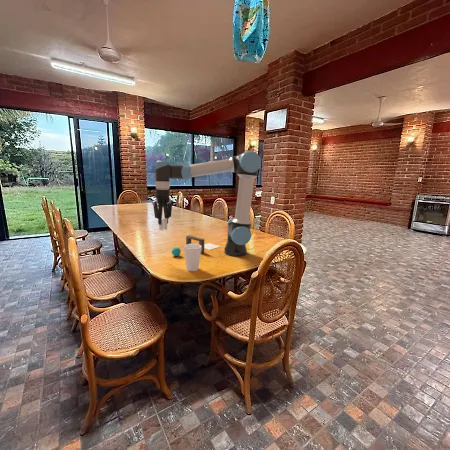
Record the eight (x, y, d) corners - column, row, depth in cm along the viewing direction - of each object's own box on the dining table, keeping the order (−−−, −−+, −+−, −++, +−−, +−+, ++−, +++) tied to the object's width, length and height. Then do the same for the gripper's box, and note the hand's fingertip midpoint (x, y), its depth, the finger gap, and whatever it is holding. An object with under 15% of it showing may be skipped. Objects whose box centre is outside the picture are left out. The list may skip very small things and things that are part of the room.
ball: (182, 256, 154) (182, 247, 153) (175, 258, 150) (175, 249, 149) (176, 254, 157) (176, 245, 156) (170, 255, 153) (169, 247, 152)
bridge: (189, 247, 171) (189, 235, 169) (204, 252, 162) (204, 239, 160) (186, 248, 169) (186, 235, 167) (200, 253, 160) (201, 240, 158)
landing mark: (220, 246, 177) (220, 246, 177) (209, 250, 168) (209, 249, 168) (208, 243, 184) (208, 243, 184) (197, 246, 175) (197, 246, 175)
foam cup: (180, 270, 131) (180, 247, 128) (188, 264, 139) (189, 242, 137) (196, 273, 128) (196, 249, 125) (204, 267, 136) (204, 245, 133)
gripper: (169, 188, 146) (169, 226, 151) (147, 188, 134) (148, 230, 139) (177, 189, 141) (177, 228, 146) (155, 189, 130) (155, 232, 134)
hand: (163, 229), depth 143 cm, fingers open, 2 cm apart
